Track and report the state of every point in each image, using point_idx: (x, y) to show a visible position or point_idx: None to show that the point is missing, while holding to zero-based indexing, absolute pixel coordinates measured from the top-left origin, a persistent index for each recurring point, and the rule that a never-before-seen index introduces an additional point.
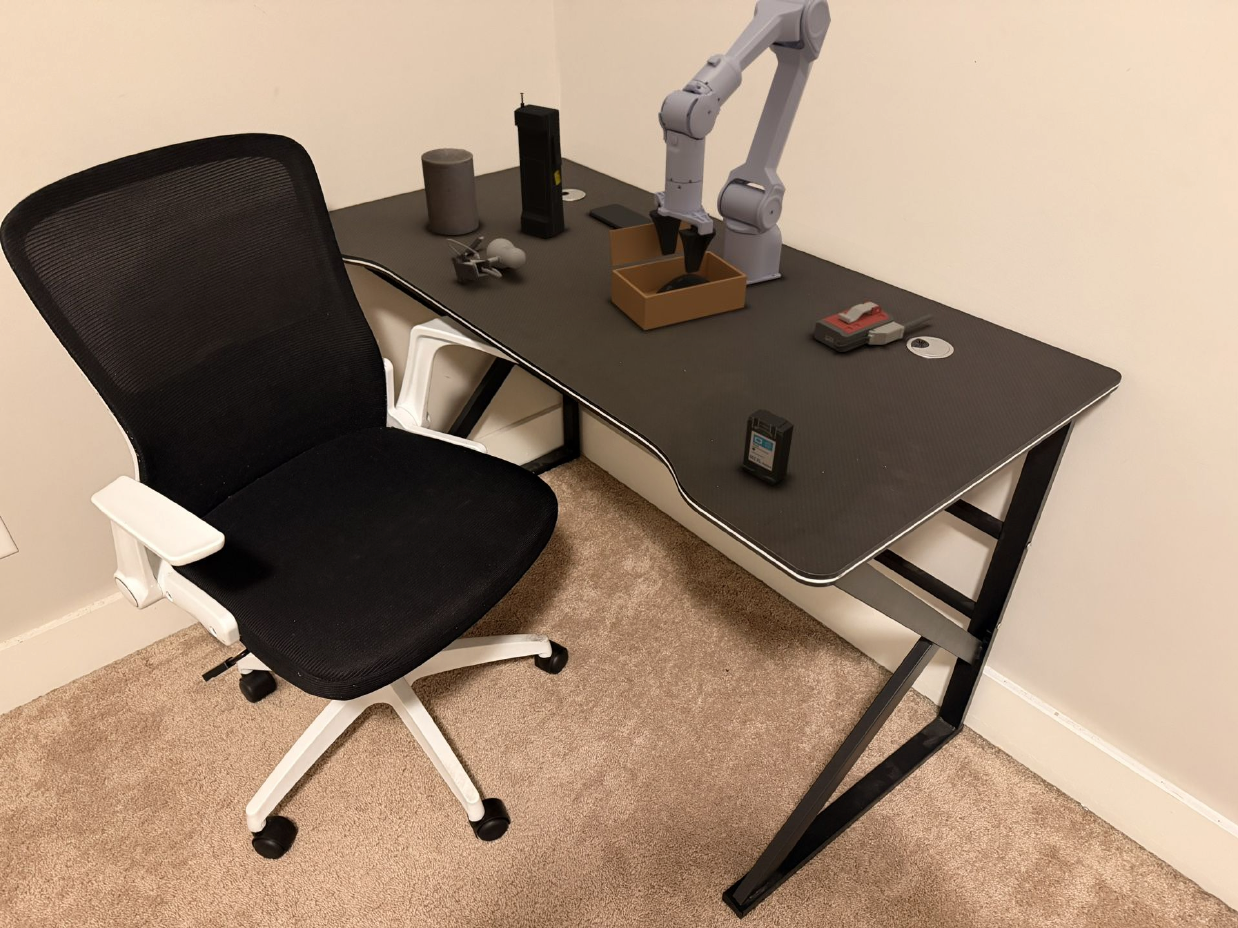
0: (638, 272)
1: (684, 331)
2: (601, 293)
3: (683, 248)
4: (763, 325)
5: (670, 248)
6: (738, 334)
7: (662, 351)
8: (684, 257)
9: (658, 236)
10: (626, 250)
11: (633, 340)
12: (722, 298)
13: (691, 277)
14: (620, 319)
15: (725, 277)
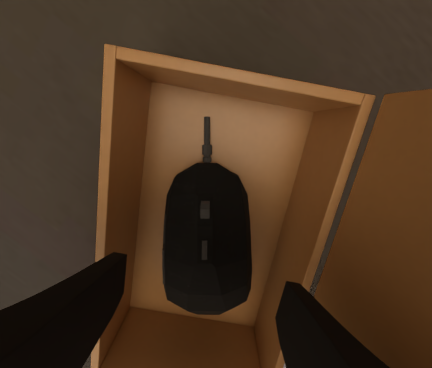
0: (321, 190)
1: (98, 149)
2: (372, 113)
3: (51, 317)
4: (48, 285)
5: (285, 322)
6: (37, 227)
7: (37, 40)
8: (87, 284)
9: (351, 338)
10: (409, 172)
11: (118, 13)
12: None
13: (197, 282)
14: (228, 61)
15: (183, 346)
